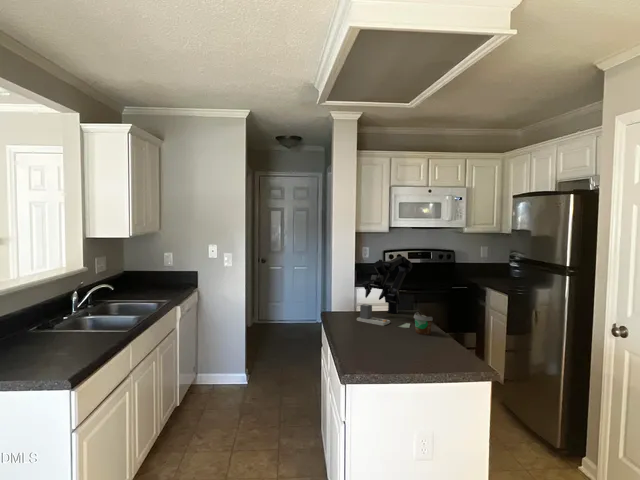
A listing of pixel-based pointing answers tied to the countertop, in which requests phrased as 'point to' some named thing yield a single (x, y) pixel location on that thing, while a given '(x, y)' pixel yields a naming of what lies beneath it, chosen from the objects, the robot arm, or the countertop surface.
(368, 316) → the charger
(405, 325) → the mat
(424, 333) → the food container
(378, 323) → the power strip
